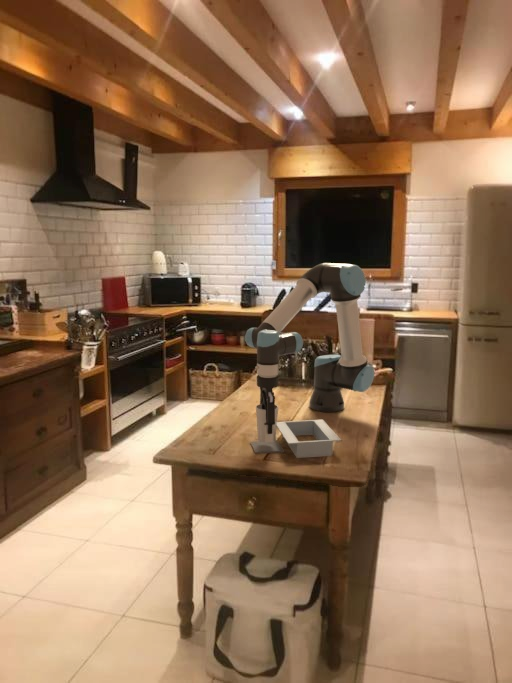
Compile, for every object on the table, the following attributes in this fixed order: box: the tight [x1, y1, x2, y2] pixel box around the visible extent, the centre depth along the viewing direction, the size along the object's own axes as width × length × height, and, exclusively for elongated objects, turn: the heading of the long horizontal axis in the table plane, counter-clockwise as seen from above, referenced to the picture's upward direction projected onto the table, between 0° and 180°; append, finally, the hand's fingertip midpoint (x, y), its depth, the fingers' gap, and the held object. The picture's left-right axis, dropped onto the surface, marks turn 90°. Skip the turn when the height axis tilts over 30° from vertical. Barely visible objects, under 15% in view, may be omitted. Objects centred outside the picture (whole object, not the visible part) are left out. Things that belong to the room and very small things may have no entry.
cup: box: [255, 403, 279, 443], centre depth 196 cm, size 8×8×12 cm
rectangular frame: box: [276, 419, 342, 459], centre depth 200 cm, size 19×22×6 cm
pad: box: [250, 439, 284, 455], centre depth 198 cm, size 10×10×1 cm
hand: (266, 437), depth 197 cm, fingers closed on cup, 7 cm apart
